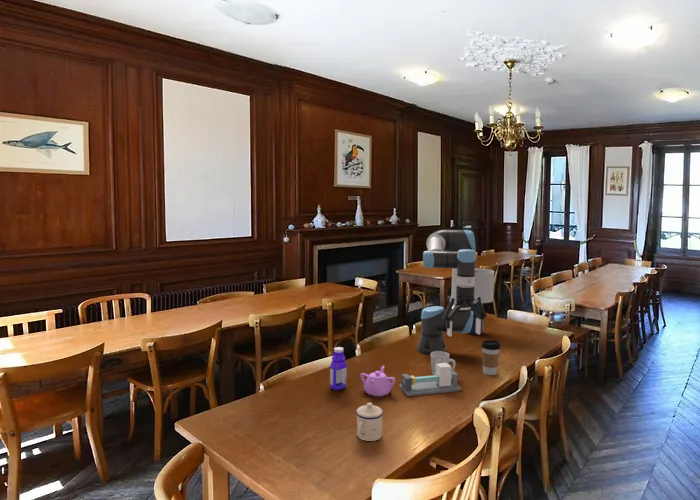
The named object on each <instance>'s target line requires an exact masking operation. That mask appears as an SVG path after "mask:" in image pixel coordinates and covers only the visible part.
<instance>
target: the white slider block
mask: <svg viewBox="0 0 700 500" xmlns="http://www.w3.org/2000/svg"><path fill="white" fill-rule="evenodd" d="M451 371H452V366H451V364H450V363H449V364H448V363H438V364H436V374H435V375H439V381H435V382H436V383H439V386H440V387H442V386H451Z"/></svg>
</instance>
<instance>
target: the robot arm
mask: <svg viewBox="0 0 700 500" xmlns="http://www.w3.org/2000/svg"><path fill="white" fill-rule="evenodd" d="M475 239H476V238H475V234H474V232H473V231H472V230H470V229H469V230H467V229H440V230H437V231H434V232H432V233H431V234H430V235H429V236H428V237H427V239H426V243H425V245H426V247H427V250H425V251H423V253H422V265H423V267H424V268H430V269H452V270H451V293H450V294H451V296H450V297H449V298H448V303H447V305H446V307H445V308H444V307H443V306H439V305H435V306H427V307H425V308H423V309H422V310H421V316H420V319H421V322H420V323H421V324H420V337H419V339H418V341H417V342H418V343H417V349H416V350H417V351H418V352H419V353H422V354H426V355H431V352H434V351H443V352H447V345H446V342H445V340H444V339H445V338H444V333H446V335H447V336H448V337H450V338H451V337H452V335H453V334H454V333H456V334H458V333H459V334H469V332H470V331H471V328H472V323H473V312H474V313H475V314H476V316H477V317H478V318H476V333H477V334H479V335H481V334H480V330H481V326H482V320H483V319H485V318H487V316H488V315H487V312H486V310H485V308H484V306H483V303H481V297H479V296H476V297H474V289H475V288H474V287H473V286H474V285H475V268H476V262H477V261H476V260H477V256H476V255H477V254H476V240H475ZM474 300H475V301H476V304H477V306H478V308H479V311H480V313H481V314H480V313H479V311H478V310H477V309H476V307H475V306H474V304H473V302H474ZM471 309H472V310H473V311H471Z"/></svg>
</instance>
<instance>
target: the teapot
mask: <svg viewBox="0 0 700 500" xmlns="http://www.w3.org/2000/svg"><path fill="white" fill-rule="evenodd" d="M359 374H360V379H361V381H362V383H363V390H364V391H365V393H366V394H367V393H368V394H367V395H369V396H371V395H373V396H372V397H384V395H385V396H387V395H388V394H389V393H391V391H392V387H393V386H394V384H395V383H396V377H394V376H387V375H386V374H385V365H382V366H381V367H380V370H375V372H371V373H369V374H368V373H364V372H362V373H359ZM365 377H367V378H366V379H365Z"/></svg>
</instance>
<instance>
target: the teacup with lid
mask: <svg viewBox="0 0 700 500" xmlns="http://www.w3.org/2000/svg"><path fill="white" fill-rule="evenodd" d="M355 414H356V437H357V436H358V437H359V438H360V439H362V440H366V441H374V440H378V439H379V440H381V439H382V437H381V436H383V415H384V411H383V410H382V408H381V407H379V406H377V405H373V403H372V402H367V403H366V404H365V405H361V406H359V407H357V409H356V411H355ZM358 437H357V438H358ZM359 438H358V439H359ZM380 438H381V439H380ZM360 439H359V440H360ZM362 440H361V441H362ZM379 440H378V441H379Z"/></svg>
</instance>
